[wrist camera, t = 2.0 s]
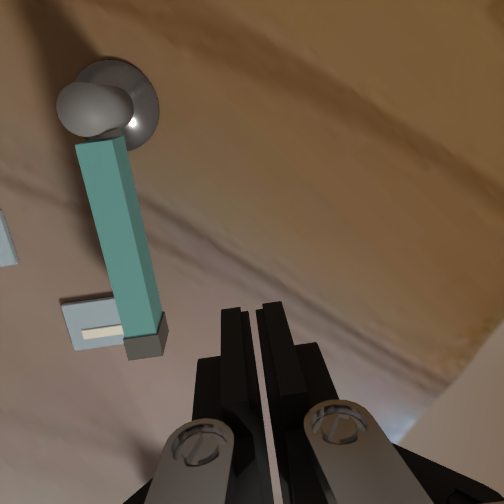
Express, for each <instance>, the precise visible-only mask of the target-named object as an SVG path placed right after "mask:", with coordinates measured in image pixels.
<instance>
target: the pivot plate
mask: <svg viewBox="0 0 504 504" xmlns="http://www.w3.org/2000/svg"><path fill="white" fill-rule="evenodd" d="M75 82H85V83H93V84H102V85H110V86H116V87H119V88H121V89H123V90H124V91H126V92H127V93H128V94H129V96H130V97H131V99H132V101H133V105H134V114H133V118H132V120H131V121H130V122H129V124H128V125H126V126H125V127H123V128H120V129H116V130H112V131H109V132H105V133H102V134H98V135H95V136H90V137H85V138H86V139H87V140H88V141H89V140H95V139H102V138H110V137H118V136H124V139H125V144H126V148H127V151H131V150H133V149H136V148H138V147H140V146H141V145H143V144H144V143H145V142H146V141H147V140H148V139H149V138H150V137H151V136H152V134H153V133H154V131H155V129H156V126H157V123H158V119H159V102H158V98H157V95H156V92H155V90H154V88H153V86H152V84H151V83H150V81H149V80H148V79H147V77H146V76H145V75H144V74H143V73H142V72H140V71H139V70H138V69H136V68H135V67H133V66H131V65H129V64H127V63H124V62H122V61H117V60H102V61H97V62H95V63H92V64H90V65H88V66H87V67H86V68H84V69H83V70H82V71H81V72H80V73H79V74H78V76H77V77H76V78H75V80H74V82H73V83H75Z"/></svg>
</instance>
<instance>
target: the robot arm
mask: <svg viewBox="0 0 504 504" xmlns="http://www.w3.org/2000/svg"><path fill="white" fill-rule="evenodd" d="M262 306H263V309H258V310H256V317H257V324H258V332H259V339H260V347H261V354H262V362H263V369H264V377H265V384H266V391H267V398H268V405H269V412H270V418H271V425H272V432H273V438H274V445H275V452H276V458H277V465H278V472H279V478H280V485H281V492H282V498H283V504H504V498H503V497H502V496H501V495H500V494H499V493H498V492H496V491H494V490H492V489H491V488H489V487H487V486H485V485H484V484H482V483H479V482H477V481H475V480H473V479H470V478H468V477H466V476H464V475H462V474H459V473H457V472H455V471H453V470H451V469H448V468H446V467H444V466H442V465H440V464H437V463H435V462H433V461H431V460H429V459H426V458H424V457H422V456H420V455H417V454H415V453H413V452H411V451H409V450H407V449H404V448H402V447H400V446H398V445H396V444H393V443H391V442H390V440H389V439H388V438H387V436H386V435H385V433H384V432H383V430H382V429H381V428H380V426H379V425H378V423H377V422H376V420H375V419H374V418H373V416H372V415H371V414H370V413H369V412H368V411H367V410H366V409H365V408H364V407H362V406H361V405H359V404H357V403H354V402H351V401H347V400H339V397H338V395H337V392H336V390H335V387H334V385H333V382H332V380H331V377H330V374H329V372H328V369H327V367H326V364H325V362H324V359H323V356H322V354H321V351H320V349H319V346H318V344H317V343H316V342H314V343H307V344H300V345H294V343H293V339H292V336H291V333H290V329H289V326H288V322H287V319H286V316H285V312H284V309H283V305H282V302H281V301H279V302H272V303H265V304H262ZM123 504H274V500H273V492H272V484H271V476H270V468H269V461H268V453H267V445H266V437H265V429H264V421H263V413H262V406H261V398H260V391H259V383H258V376H257V369H256V362H255V355H254V348H253V341H252V334H251V327H250V320H249V313H248V311H244V312H241V309H240V307H236V308H229V309H222V310H221V356H216V357H209V358H202V359H198V362H197V372H196V382H195V393H194V403H193V414H192V421H191V422H188V423H185V424H184V425H182V426H181V427H179V428H178V429H176V430H175V431H174V432H173V433H172V434H171V435H170V436H169V438H168V440H167V442H166V443H165V445H164V448H163V451H162V454H161V457H160V460H159V463H158V466H157V468H156V471H155V474H154V477H153V478H152V479H151V480H150V481H149V482H147V483H146V484H145V485H144V486H143V487H142V488H140V489H139V490H138V491H137V492H136V493H135V494H133V495H132V496H131V497H130V498H129V499H128V500H126V501H125V502H124V503H123Z"/></svg>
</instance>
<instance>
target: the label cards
mask: <svg viewBox="0 0 504 504" xmlns="http://www.w3.org/2000/svg"><path fill="white" fill-rule="evenodd" d="M18 263H19V261H18V258H17V255H16V252H15V249H14V246H13V243H12V240H11V237H10V234H9V231H8V228H7V225H6V222H5V219H4V216H3V213H2V210H0V267H2V266H9V265H16V264H18ZM61 308H62V311H63V314H64V318H65V321H66V324H67V327H68V330H69V334H70V337H71V340H72V343H73V346H74V350H75V351H77V350H84V349H91V348H98V347H105V346H112V345H119V344H124V342H123V338H124V333H123V329H122V325H121V321H120V317H119V313H118V310H117V306H116V302H115V298H114V297H106V298H99V299H92V300H85V301H78V302H70V303H63V304H62V305H61Z"/></svg>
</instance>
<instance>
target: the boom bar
mask: <svg viewBox="0 0 504 504" xmlns="http://www.w3.org/2000/svg"><path fill="white" fill-rule="evenodd" d="M56 110H57V114H58V117H59V119H60V121H61V123H62V124H63V125H64V127H65V128H66V129H67V130H69V131H70V132H72V133H73V134H76V135H78V136H82V137H90V136H95V135H98V134H102V133H105V132H109V131H112V130H116V129H120V128H123V127H125V126H126V125H128V124H129V122H130V121H131V120H132V118H133V114H134V105H133V101H132V99H131V97H130V96H129V94H128V93H127V92H126V91H124V90H123V89H121V88H119V87H116V86H110V85H102V84H93V83H85V82H75V83H71V84H69V85H67V86H66V87H64V88H63V89H62V90H61V92H60V93H59V95H58V98H57V102H56ZM75 149H76V153H77V157H78V160H79V164H80V168H81V172H82V176H83V180H84V183H85V187H86V191H87V195H88V199H89V202H90V206H91V210H92V214H93V218H94V222H95V225H96V229H97V233H98V237H99V241H100V245H101V248H102V252H103V256H104V260H105V264H106V268H107V271H108V275H109V279H110V283H111V287H112V290H113V294H114V298H115V302H116V306H117V310H118V313H119V317H120V321H121V325H122V329H123V333H124V338H123V342H124V346H125V350H126V353H127V357H128V361H129V360H136V359H143V358H150V357H157V356H163V353H164V349H165V344H166V340H167V336H168V332H169V330H168V325H167V321H166V316H165V312H162V307H161V302H160V298H159V293H158V289H157V284H156V280H155V275H154V271H153V266H152V262H151V257H150V253H149V248H148V243H147V239H146V234H145V230H144V225H143V221H142V216H141V212H140V207H139V203H138V198H137V193H136V189H135V184H134V180H133V175H132V171H131V166H130V162H129V157H128V153H127V148H126V144H125V139H124V136H118V137H110V138H102V139H95V140H89V141H86V142H83V143H79V144H76V145H75Z"/></svg>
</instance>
